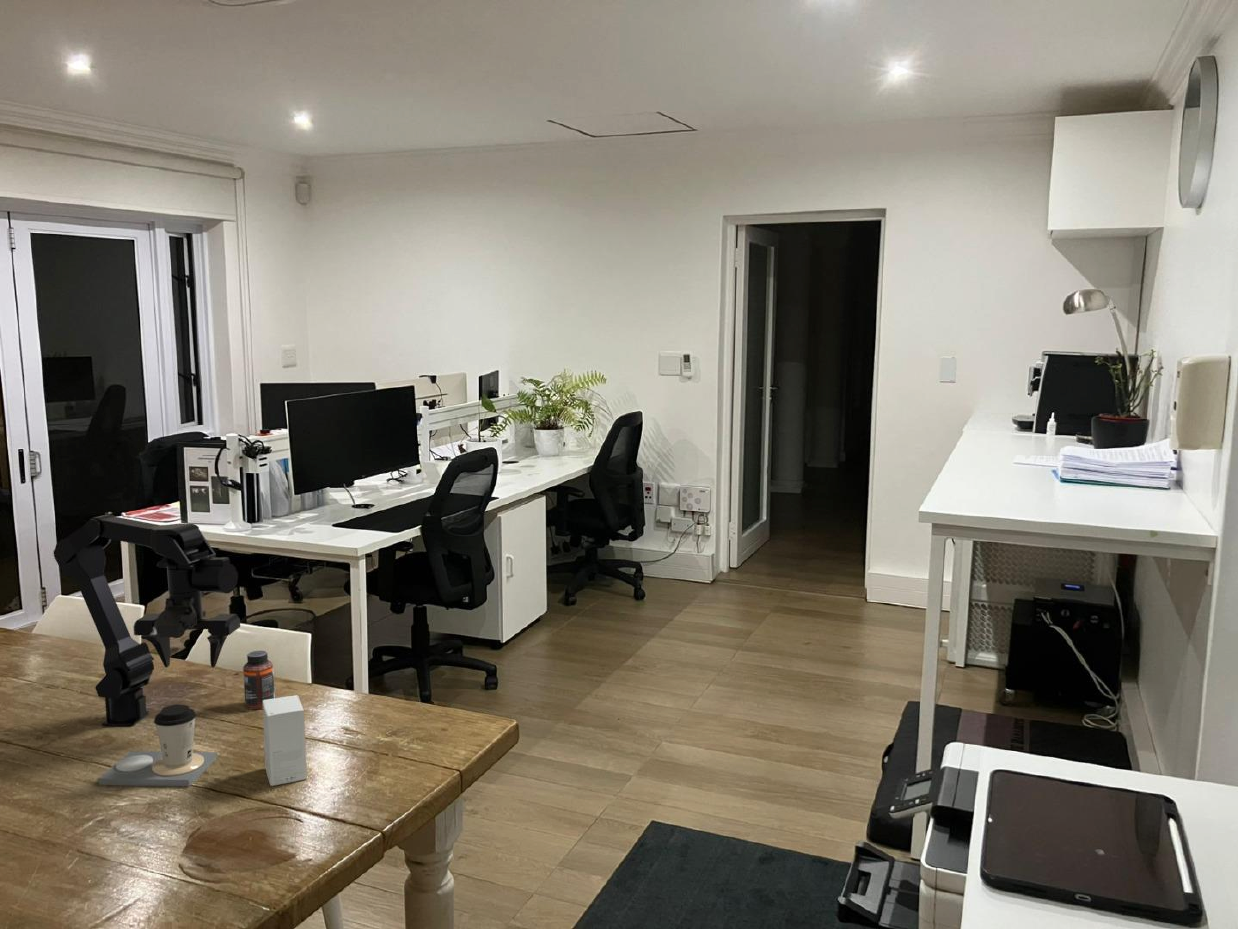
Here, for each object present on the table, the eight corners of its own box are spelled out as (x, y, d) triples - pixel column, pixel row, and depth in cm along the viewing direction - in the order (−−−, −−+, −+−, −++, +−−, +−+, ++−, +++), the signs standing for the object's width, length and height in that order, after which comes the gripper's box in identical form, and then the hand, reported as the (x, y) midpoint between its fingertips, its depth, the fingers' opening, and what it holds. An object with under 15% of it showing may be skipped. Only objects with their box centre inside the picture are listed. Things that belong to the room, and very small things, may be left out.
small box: (307, 780, 172) (304, 710, 170) (269, 787, 169) (266, 716, 167) (301, 761, 179) (298, 694, 177) (264, 768, 176) (261, 699, 174)
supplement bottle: (280, 699, 207) (277, 649, 206) (267, 711, 202) (264, 658, 200) (253, 698, 208) (250, 648, 206) (239, 709, 202) (237, 657, 200)
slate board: (98, 785, 169) (98, 776, 169) (131, 757, 180) (131, 748, 180) (189, 786, 169) (188, 778, 168) (216, 758, 180) (216, 750, 179)
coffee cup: (205, 763, 174) (202, 710, 173) (165, 775, 169) (161, 721, 168) (190, 750, 179) (187, 699, 177) (151, 762, 174) (147, 709, 173)
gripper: (115, 601, 180) (121, 681, 182) (213, 601, 180) (219, 682, 182) (145, 585, 191) (151, 661, 193) (239, 585, 191) (243, 661, 193)
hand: (190, 666), depth 190 cm, fingers open, 9 cm apart
